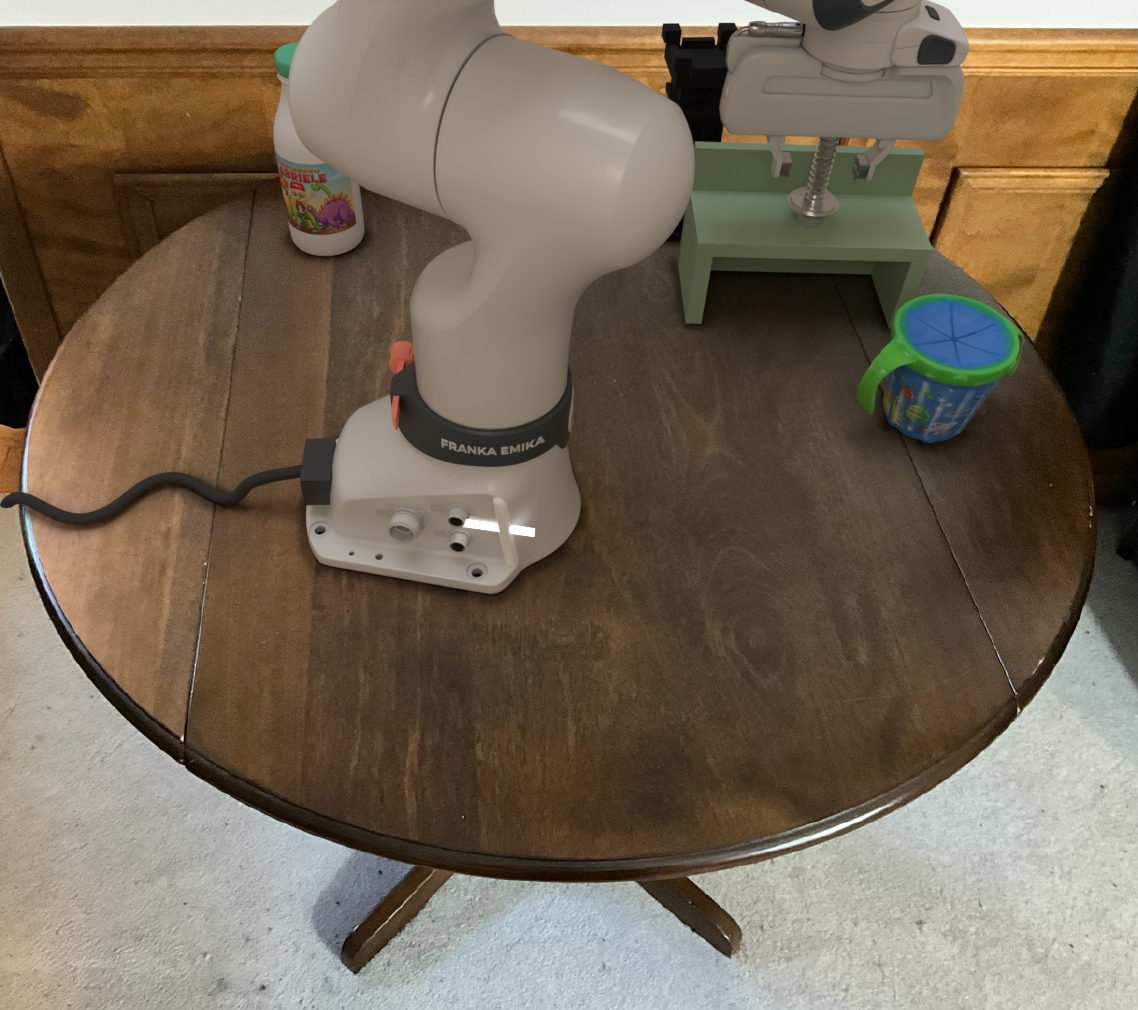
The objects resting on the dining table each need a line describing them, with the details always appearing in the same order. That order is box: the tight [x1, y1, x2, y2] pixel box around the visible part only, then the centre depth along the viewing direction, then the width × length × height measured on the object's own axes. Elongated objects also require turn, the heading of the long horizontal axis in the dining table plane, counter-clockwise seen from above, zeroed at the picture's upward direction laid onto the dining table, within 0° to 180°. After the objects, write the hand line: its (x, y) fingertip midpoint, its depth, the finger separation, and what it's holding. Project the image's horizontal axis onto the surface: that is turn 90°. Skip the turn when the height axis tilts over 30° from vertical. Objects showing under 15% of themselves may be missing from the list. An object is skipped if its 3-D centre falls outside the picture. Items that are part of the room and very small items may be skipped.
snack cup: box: [855, 293, 1025, 444], centre depth 92 cm, size 16×11×10 cm
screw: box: [787, 137, 841, 229], centre depth 94 cm, size 13×5×5 cm
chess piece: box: [661, 22, 739, 242], centre depth 107 cm, size 8×8×20 cm
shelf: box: [677, 141, 933, 329], centre depth 102 cm, size 22×10×14 cm, turn 91°
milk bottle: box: [272, 41, 365, 257], centre depth 103 cm, size 8×8×20 cm
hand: (820, 175), depth 95 cm, fingers open, 6 cm apart
